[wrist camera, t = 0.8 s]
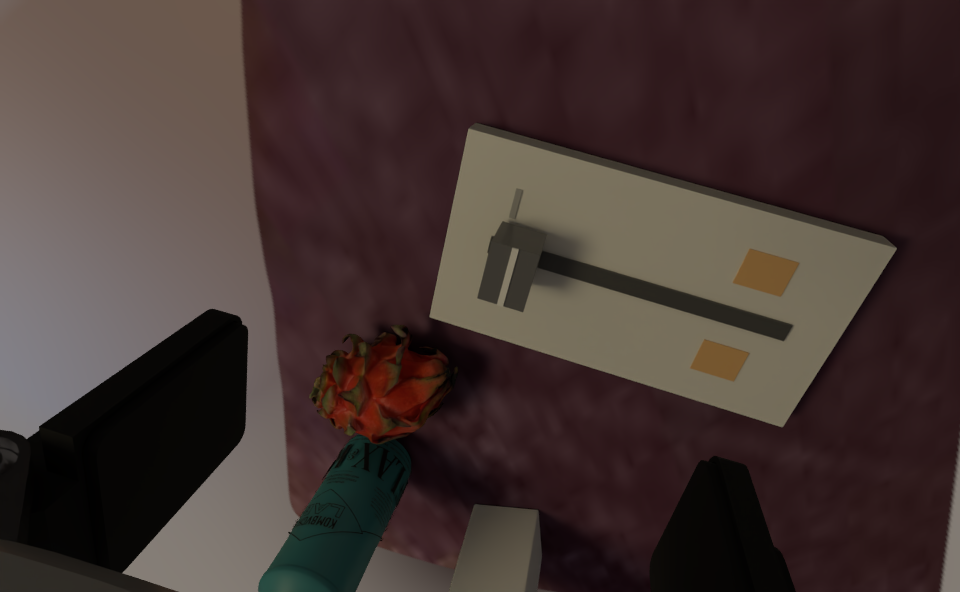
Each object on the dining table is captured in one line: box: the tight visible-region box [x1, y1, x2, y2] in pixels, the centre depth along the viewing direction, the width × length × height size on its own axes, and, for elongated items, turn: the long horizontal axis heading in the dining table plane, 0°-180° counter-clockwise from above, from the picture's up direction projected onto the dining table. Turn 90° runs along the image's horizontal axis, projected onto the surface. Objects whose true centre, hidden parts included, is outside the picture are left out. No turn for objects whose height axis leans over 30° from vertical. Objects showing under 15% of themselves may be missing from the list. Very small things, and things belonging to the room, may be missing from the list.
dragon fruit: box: [310, 325, 458, 444], centre depth 44 cm, size 8×8×12 cm
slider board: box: [430, 123, 897, 427], centre depth 38 cm, size 14×26×2 cm, turn 77°
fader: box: [477, 221, 547, 312], centre depth 36 cm, size 4×3×4 cm
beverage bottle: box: [258, 434, 412, 592], centre depth 43 cm, size 6×7×20 cm
